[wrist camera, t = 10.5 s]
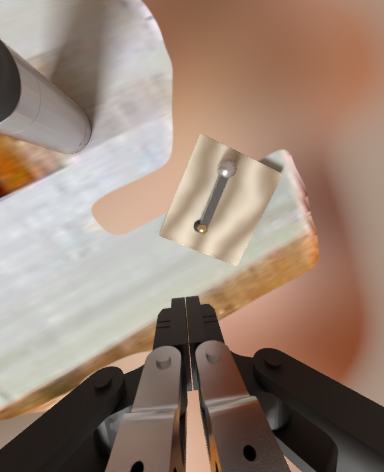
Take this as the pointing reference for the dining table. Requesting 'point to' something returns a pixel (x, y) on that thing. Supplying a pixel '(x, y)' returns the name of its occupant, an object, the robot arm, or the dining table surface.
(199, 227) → the leg
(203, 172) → the hole board
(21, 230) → the dining table surface
